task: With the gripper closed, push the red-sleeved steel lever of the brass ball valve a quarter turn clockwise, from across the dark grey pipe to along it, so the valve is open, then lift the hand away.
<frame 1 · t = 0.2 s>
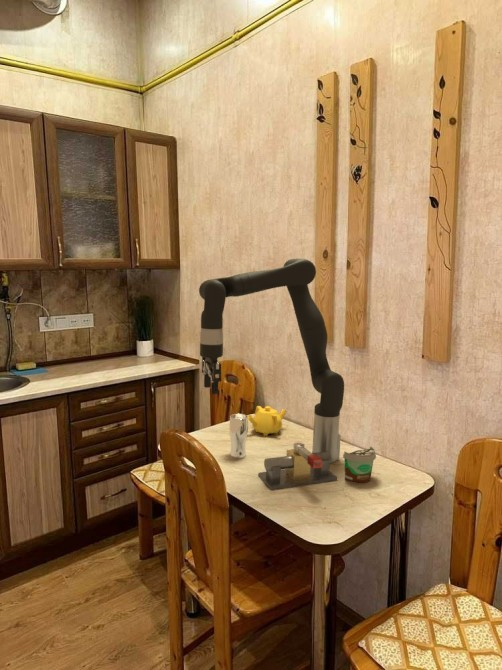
hand: (210, 390, 153), 29 cm above the table, tool pointing down, fingers open, 8 cm apart
food container: (361, 481, 156), on the table
valve pipe: (297, 477, 156), on the table
teapot: (267, 432, 199), on the table
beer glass: (237, 455, 174), on the table
valve lever: (306, 454, 150), point 10 cm above the table, hinge at 0.0°
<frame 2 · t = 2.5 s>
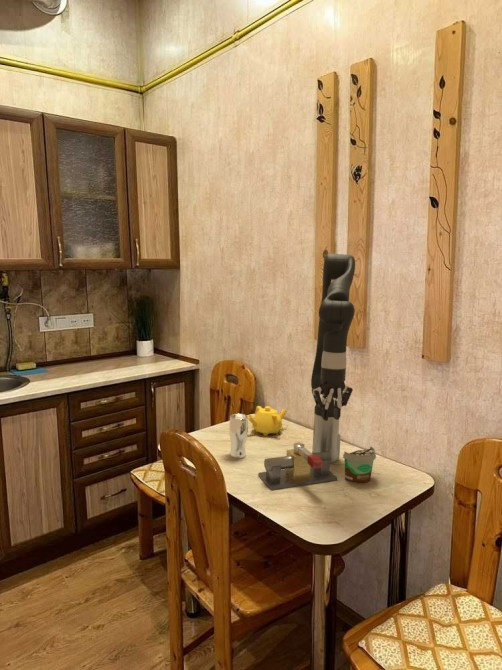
hand: (330, 419, 146), 23 cm above the table, tool pointing down, fingers open, 3 cm apart
nothing on the table moved.
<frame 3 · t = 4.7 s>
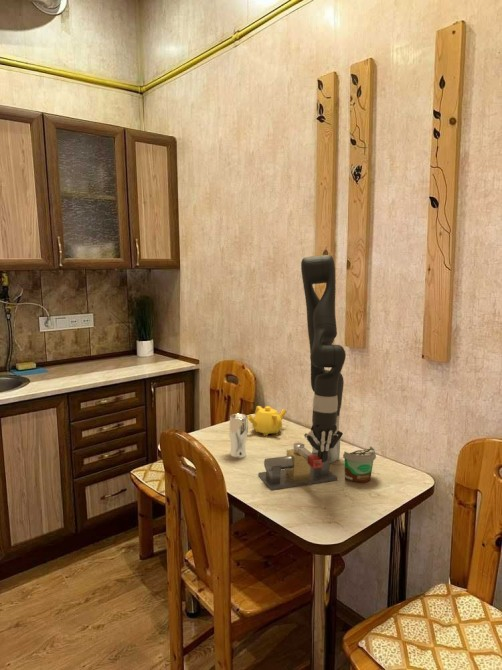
hand: (322, 461, 147), 10 cm above the table, tool pointing down, fingers closed
valve lever: (306, 454, 150), point 10 cm above the table, hinge at 0.0°, touching gripper
everything else where it was.
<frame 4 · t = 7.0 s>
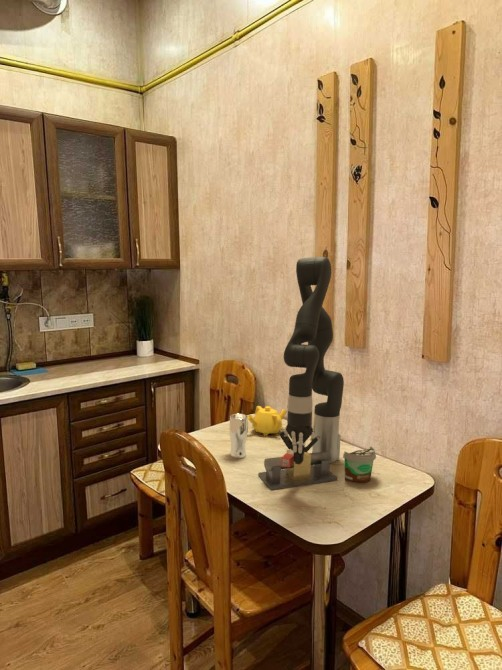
hand: (298, 463, 144), 10 cm above the table, tool pointing down, fingers closed
valve lever: (293, 454, 150), point 10 cm above the table, hinge at 44.5°, touching gripper
everything else where it was.
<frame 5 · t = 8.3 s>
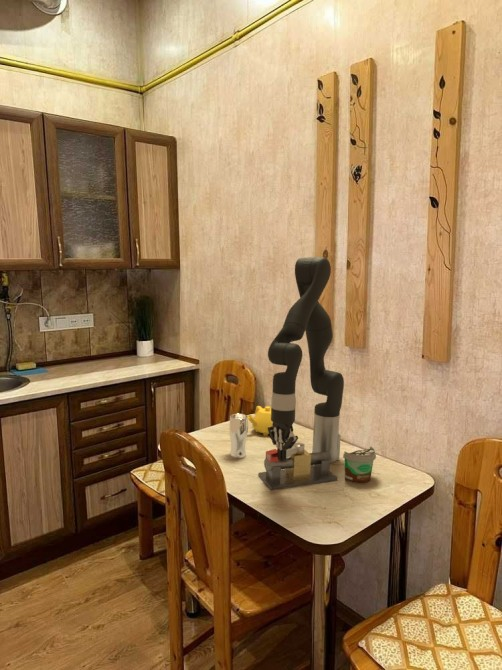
hand: (281, 460, 146), 10 cm above the table, tool pointing down, fingers closed
valve lever: (286, 451, 151), point 10 cm above the table, hinge at 73.9°, touching gripper
everything else where it was.
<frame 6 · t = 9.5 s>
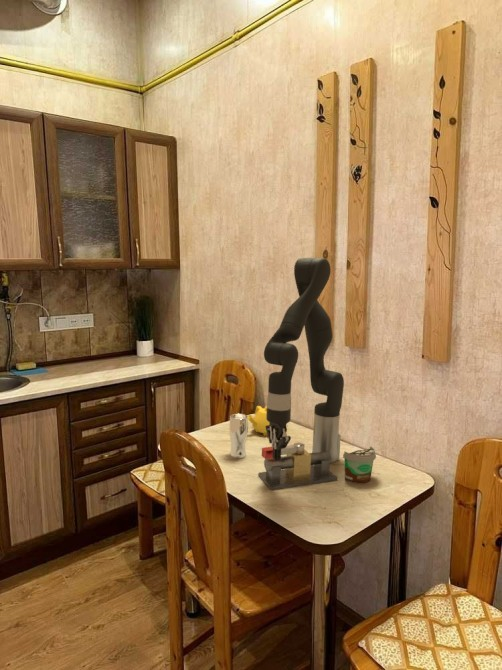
hand: (276, 459, 147), 10 cm above the table, tool pointing down, fingers closed
valve lever: (284, 450, 153), point 10 cm above the table, hinge at 86.7°
everything else where it was.
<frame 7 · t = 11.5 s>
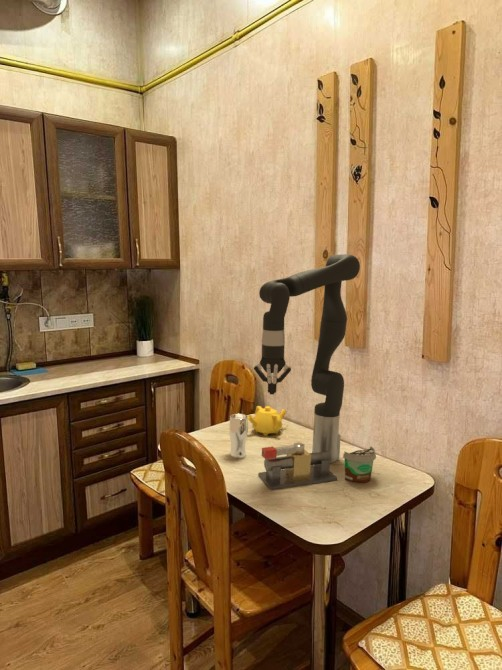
hand: (271, 393, 156), 28 cm above the table, tool pointing down, fingers closed
nothing on the table moved.
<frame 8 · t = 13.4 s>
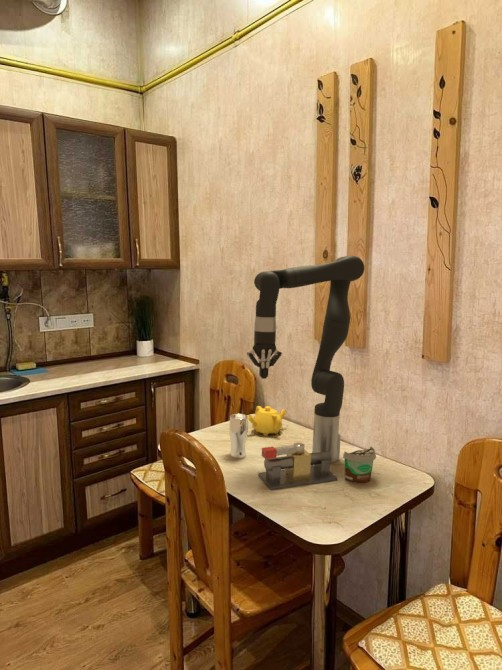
hand: (263, 378, 164), 31 cm above the table, tool pointing down, fingers closed
nothing on the table moved.
at the end: valve lever at +87° (first picture: +0°); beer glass moved 0.2 cm from its start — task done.
